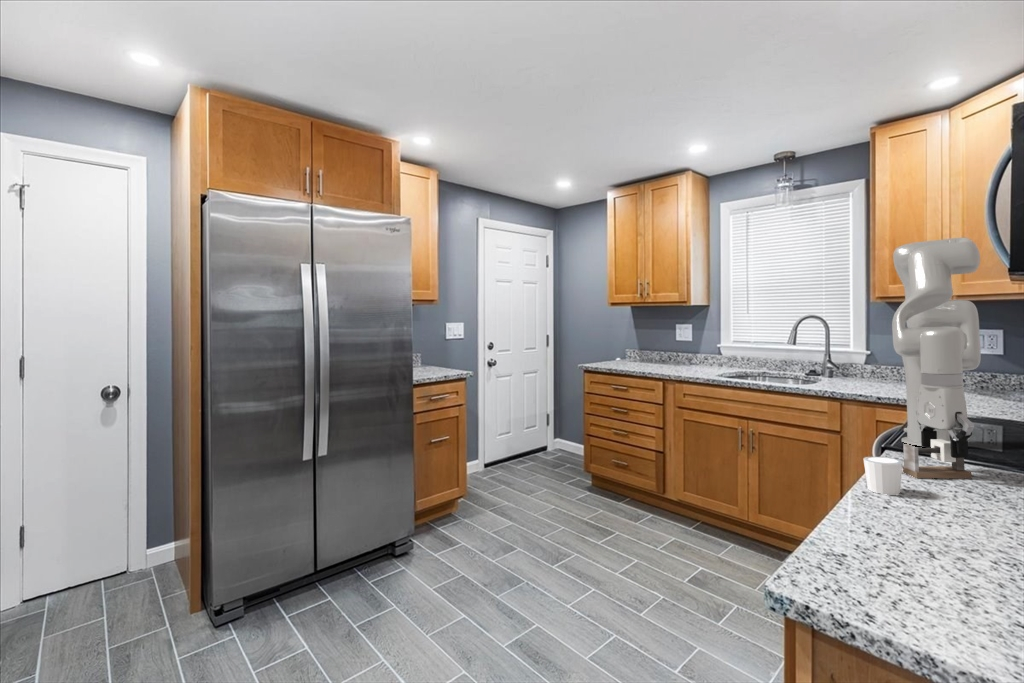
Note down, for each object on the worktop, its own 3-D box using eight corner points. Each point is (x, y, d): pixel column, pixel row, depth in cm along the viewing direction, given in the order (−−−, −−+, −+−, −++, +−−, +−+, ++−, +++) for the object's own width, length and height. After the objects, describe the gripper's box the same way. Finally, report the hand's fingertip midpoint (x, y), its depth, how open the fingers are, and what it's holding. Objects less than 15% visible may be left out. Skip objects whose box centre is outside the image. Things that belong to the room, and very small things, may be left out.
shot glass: (871, 495, 106) (870, 463, 106) (859, 486, 113) (858, 455, 112) (909, 497, 104) (908, 464, 104) (895, 487, 110) (894, 456, 110)
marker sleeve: (931, 457, 120) (930, 439, 120) (942, 457, 119) (941, 439, 119) (944, 462, 115) (943, 443, 115) (955, 461, 115) (955, 443, 115)
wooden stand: (903, 472, 121) (901, 442, 121) (955, 472, 119) (954, 441, 119) (916, 478, 116) (915, 446, 116) (971, 478, 114) (970, 446, 114)
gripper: (900, 377, 126) (902, 443, 127) (951, 385, 109) (953, 462, 110) (933, 376, 125) (935, 443, 126) (989, 384, 108) (991, 461, 109)
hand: (943, 452), depth 118 cm, fingers open, 9 cm apart
